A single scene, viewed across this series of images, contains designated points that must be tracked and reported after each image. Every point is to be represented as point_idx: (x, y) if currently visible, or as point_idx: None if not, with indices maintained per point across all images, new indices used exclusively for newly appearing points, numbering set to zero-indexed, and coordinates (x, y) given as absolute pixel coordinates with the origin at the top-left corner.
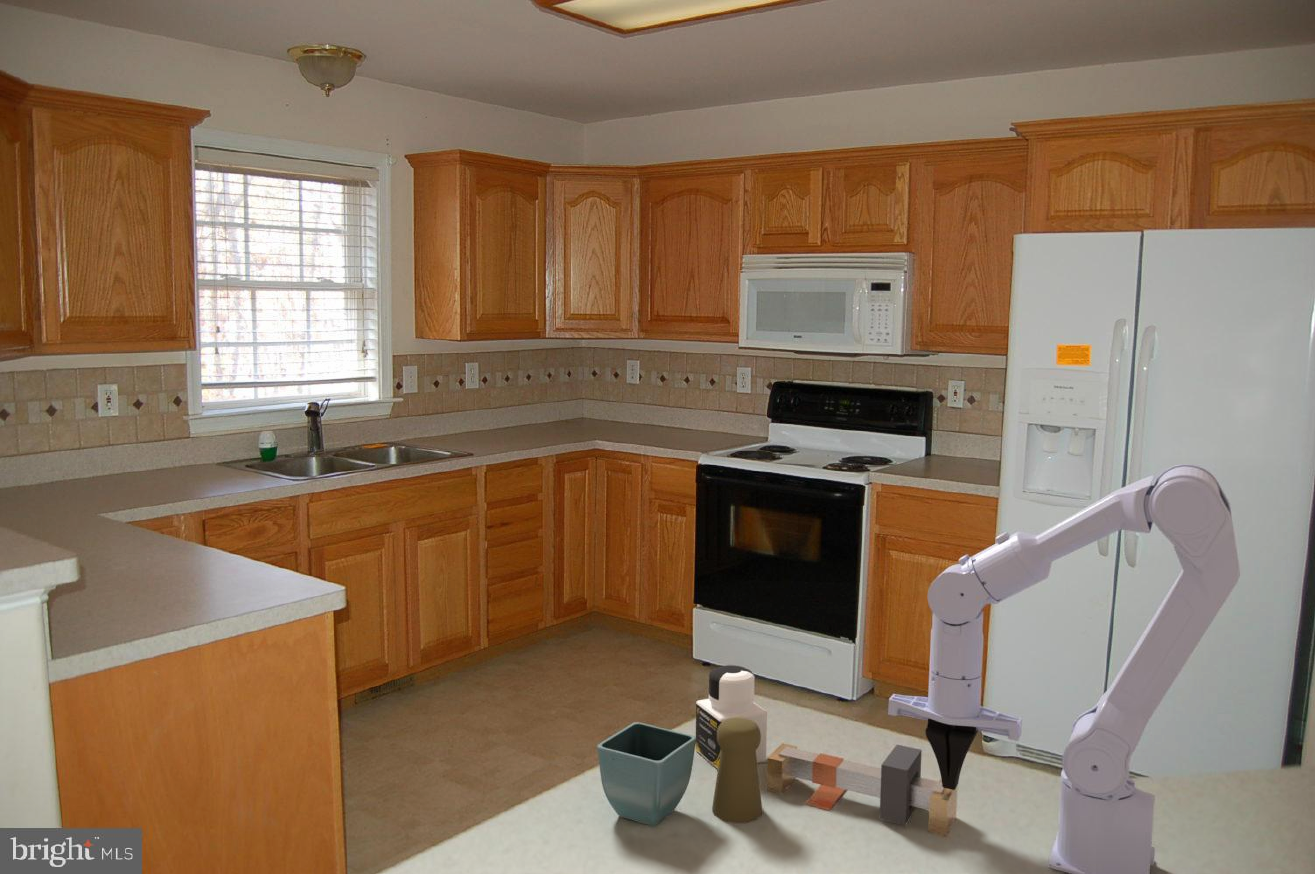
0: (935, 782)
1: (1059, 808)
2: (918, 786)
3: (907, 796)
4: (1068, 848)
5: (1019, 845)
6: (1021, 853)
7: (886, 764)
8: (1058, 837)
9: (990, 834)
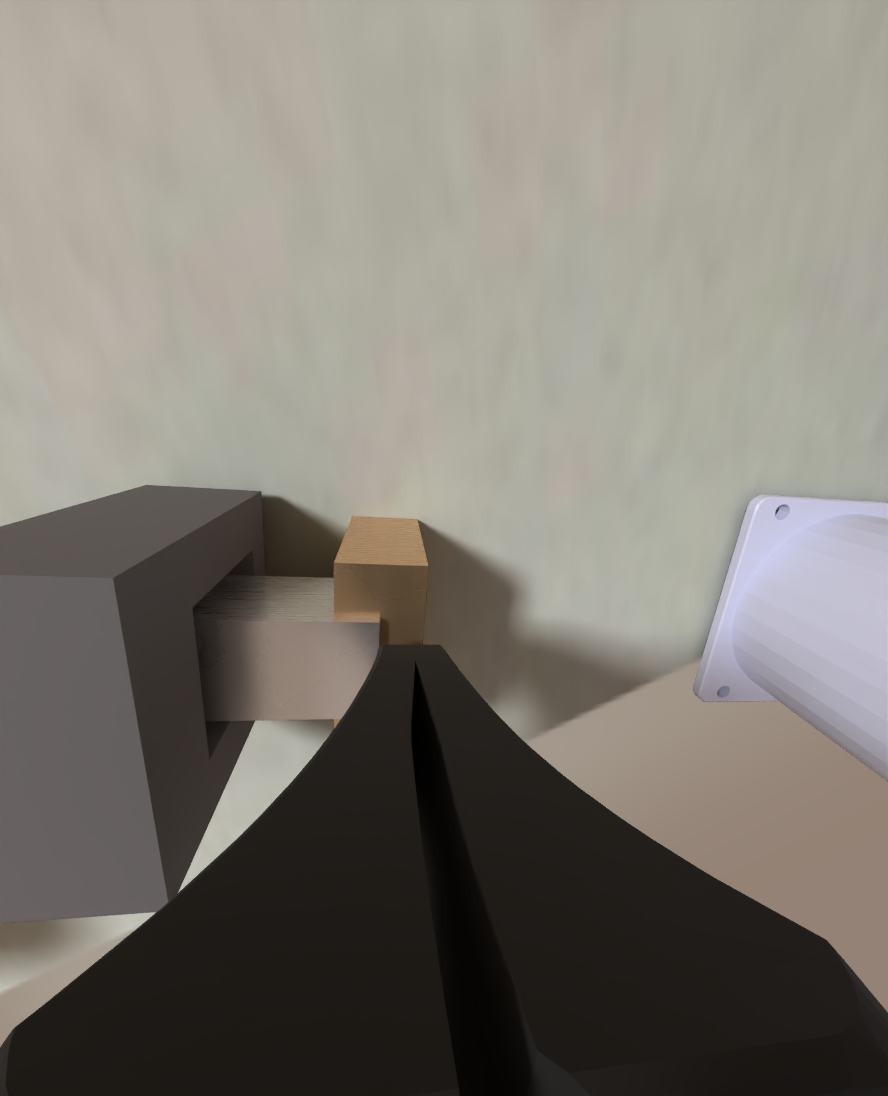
0: (323, 639)
1: (885, 726)
2: (257, 716)
3: (235, 744)
4: (787, 705)
5: (623, 606)
6: (625, 647)
7: (6, 905)
8: (773, 662)
9: (539, 582)
